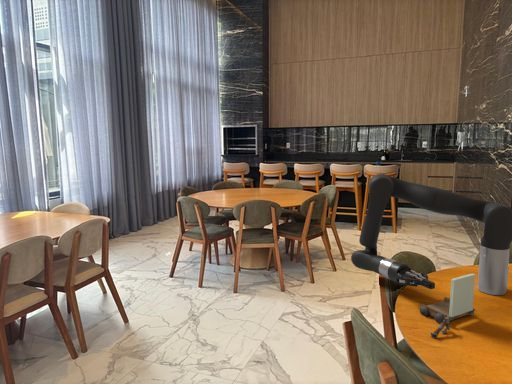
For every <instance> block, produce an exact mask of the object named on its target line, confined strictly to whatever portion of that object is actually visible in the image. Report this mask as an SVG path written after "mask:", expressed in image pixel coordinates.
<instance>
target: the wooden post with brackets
mask: <svg viewBox="0 0 512 384" xmlns="http://www.w3.org/2000/svg"><path fill="white" fill-rule="evenodd" d="M448 322H449V318H445V319H444V320H443V322H442V323H440V324H439V325H438V327H437V329H436V330H435V331H433V332H432V331H430V335H431V336H430V337H431V338H434V339H436V340H438V339H439V337H438V336H439V334H440V333H441V334H442V335H445V334H447V332H448V331H450V329H451V327H450V324H448Z"/></svg>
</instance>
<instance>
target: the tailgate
mask: <svg viewBox="0 0 512 384" xmlns="http://www.w3.org/2000/svg"><path fill="white" fill-rule="evenodd" d="M475 283H476V274H475V273H469V274H464V275H461V276H457V277H454V278H451V280H450V295H449V298H450V309H449V316H450V317H454V316H457V315H460V314H463V313H466V312H469V311H472V310H473V308H474V297H475V285H476V284H475Z"/></svg>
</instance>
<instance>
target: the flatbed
mask: <svg viewBox="0 0 512 384" xmlns="http://www.w3.org/2000/svg"><path fill="white" fill-rule="evenodd" d="M449 309H450V297H449V298H448V297H446V296H444V298H443V300H442V301H441V300H440V301H437V302H435V303H430V304H428V305H426V304H424V303H422V304H421V305H420V307H419V313H420V314H421V316H423V317H426V316H431V317H433V318H434V319H433V320H434V321H435V322H436V323H437V324H439V325H440V324H442V322H443V320H444V319H445V318H449V322H448V324H449V325H450V321H452V320H456V319H458V318H461V317H464V316H467V315H470V316H474V315H475V312H476V308H474V307H473V310H472V311H469V312H466V313H463V314H460V315H457V316H454V317H450V316H449Z"/></svg>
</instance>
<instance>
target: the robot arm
mask: <svg viewBox="0 0 512 384" xmlns="http://www.w3.org/2000/svg"><path fill="white" fill-rule="evenodd" d="M390 197H391V198H396V199H400V200H403V201H405V202H408V203H410V204H412V205H413V206H416V207H418V208H421V209H422V210H426V211H429V212H433V213H436V214H437V213H438V214H439V215H440V214H441V215H446V216H459V217H465V218H468V219H469V218H470V219H473V220H475V221H478V222H480V223H483V224H484V230H483V231H484V232H483V236H481V238H480V248H479V262H478V263H479V264H478V275H477V276H478V277H477V278H478V279H477V291H480V292H482V293H484V294H487V295H492V296H503V295H506V293H507V291H508V283H509V274H510V272H509V270H510V267H509V261H510V251H511V250H510V249H511V244H512V209H511V208H510V207H509V206H506V205H504V204H502V203H501V202H500V203H499V202H497V201H496V202H495V201H489V200H482V199H475V198H472V197H468V196H464V195H462V194H459V193H457V192H453V191H450V190H447V189H443V188H438V187H435V186H431V185H425V184H421V183H413V182H409V181H405V180H403V179H399V178H397V177H393V176H392V175H389V174H386V173H385V174H384V173H377V174H375V175H373V176H371V178H370V180H369V182H368V204H367V210H366V214H365V216H364V219H363V222H362V223H363V224H362V227H361V230H360V236H359V241H358V242H359V244H360V245H361V246H362V247H365V249H360V250H355V251H353V252H352V254H351V255H350V260H351V263H352V264H353V265H354V266H355V268H358V269H360V270H363V271H368V272H373V273H376V274H378V275H380V276H383V278H386V279H387V280H391V281H393V282H394V283H397V284H399V285H403V286H408V287H415V288H417V287H418V286H419V287H424V288H426V289H429V290H434V289H435V288H436V283H435V282H434V281H431V280H429V276H428V274H427V273H426V271H421V272H420V273H419V272H417V271H415V270H413V269H411V267H410V266H409V265H408V264H406V263H403V262H400V261H398V260H395V259H392V258H388V257H385V256H382V255H378V239H379V235H380V232H381V226H382V221H383V215H384V213H385V209H386V206H387V204H388V202H389V199H390Z"/></svg>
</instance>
